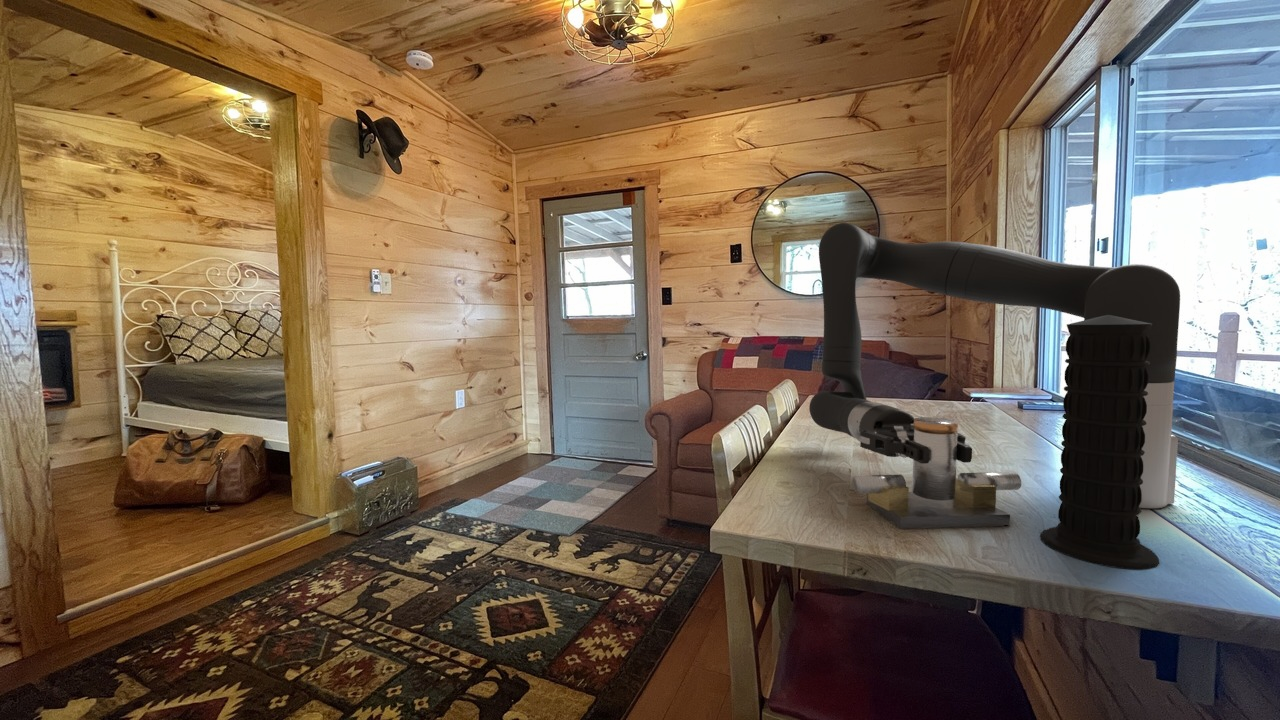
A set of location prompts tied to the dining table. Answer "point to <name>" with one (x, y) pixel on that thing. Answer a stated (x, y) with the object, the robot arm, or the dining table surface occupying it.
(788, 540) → the dining table surface
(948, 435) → the grey cylinder
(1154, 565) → the handle grip
